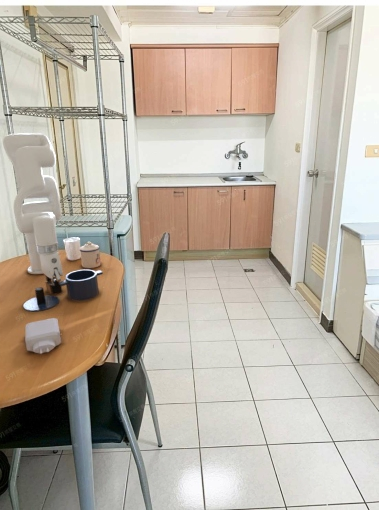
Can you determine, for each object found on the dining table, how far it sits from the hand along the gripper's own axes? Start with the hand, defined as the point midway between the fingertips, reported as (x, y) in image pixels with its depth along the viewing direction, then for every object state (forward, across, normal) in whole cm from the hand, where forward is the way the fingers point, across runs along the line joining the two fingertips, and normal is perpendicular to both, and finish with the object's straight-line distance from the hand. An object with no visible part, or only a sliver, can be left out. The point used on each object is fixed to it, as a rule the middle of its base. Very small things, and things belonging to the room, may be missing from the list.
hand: (54, 291), depth 138 cm
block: (0, 0, 0) cm, 0 cm away
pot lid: (0, -8, +8) cm, 11 cm away
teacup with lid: (+1, +19, -26) cm, 32 cm away
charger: (+1, -36, +17) cm, 40 cm away
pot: (0, -11, -7) cm, 13 cm away
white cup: (+1, +34, -24) cm, 42 cm away
